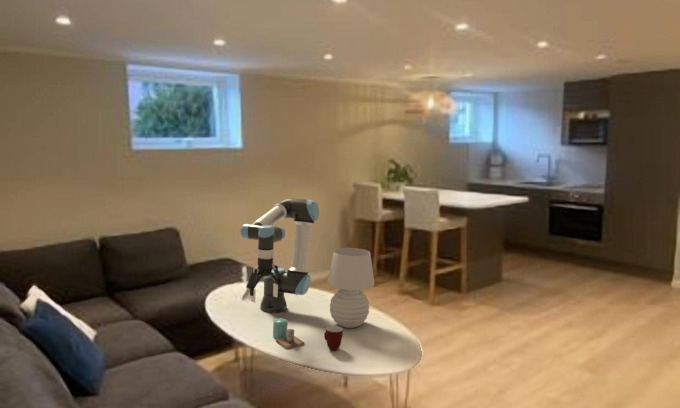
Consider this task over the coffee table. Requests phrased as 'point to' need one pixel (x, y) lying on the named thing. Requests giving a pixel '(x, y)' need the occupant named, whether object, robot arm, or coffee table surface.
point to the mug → (333, 337)
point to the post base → (290, 345)
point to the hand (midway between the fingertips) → (264, 299)
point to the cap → (280, 328)
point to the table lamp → (350, 286)
